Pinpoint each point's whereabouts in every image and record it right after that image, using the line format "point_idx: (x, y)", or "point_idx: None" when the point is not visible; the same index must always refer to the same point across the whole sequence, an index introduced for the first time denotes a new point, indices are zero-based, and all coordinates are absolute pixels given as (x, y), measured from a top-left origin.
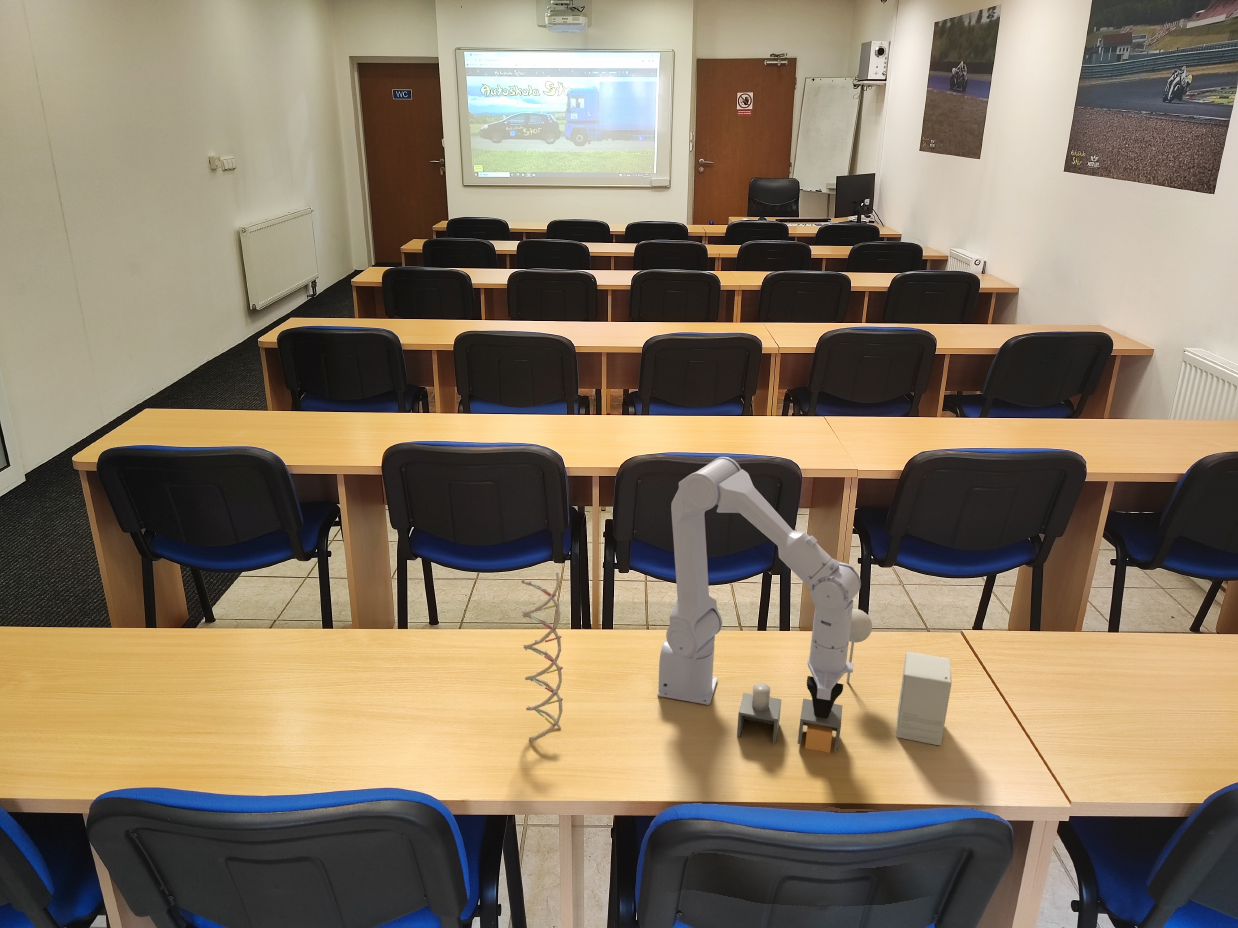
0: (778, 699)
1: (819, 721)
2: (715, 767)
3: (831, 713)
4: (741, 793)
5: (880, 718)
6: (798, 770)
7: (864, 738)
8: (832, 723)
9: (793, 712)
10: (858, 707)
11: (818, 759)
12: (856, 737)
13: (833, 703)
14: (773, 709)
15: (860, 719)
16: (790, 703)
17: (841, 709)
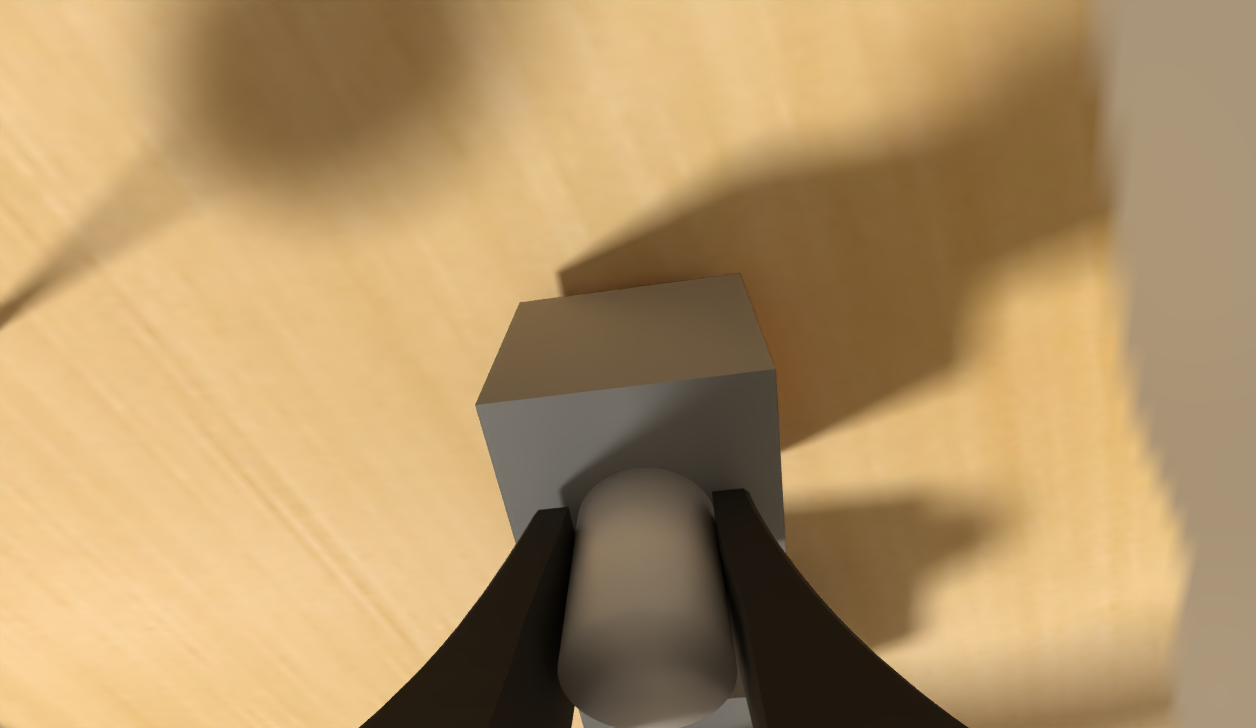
0: (590, 719)
1: (775, 516)
2: (999, 705)
3: (633, 460)
4: (1157, 600)
5: (192, 49)
6: (936, 425)
7: (484, 124)
8: (763, 432)
9: (467, 532)
10: (182, 223)
11: (810, 351)
12: (502, 179)
13: (824, 604)
14: (702, 723)
15: (298, 188)
16: (403, 557)
17: (539, 401)
